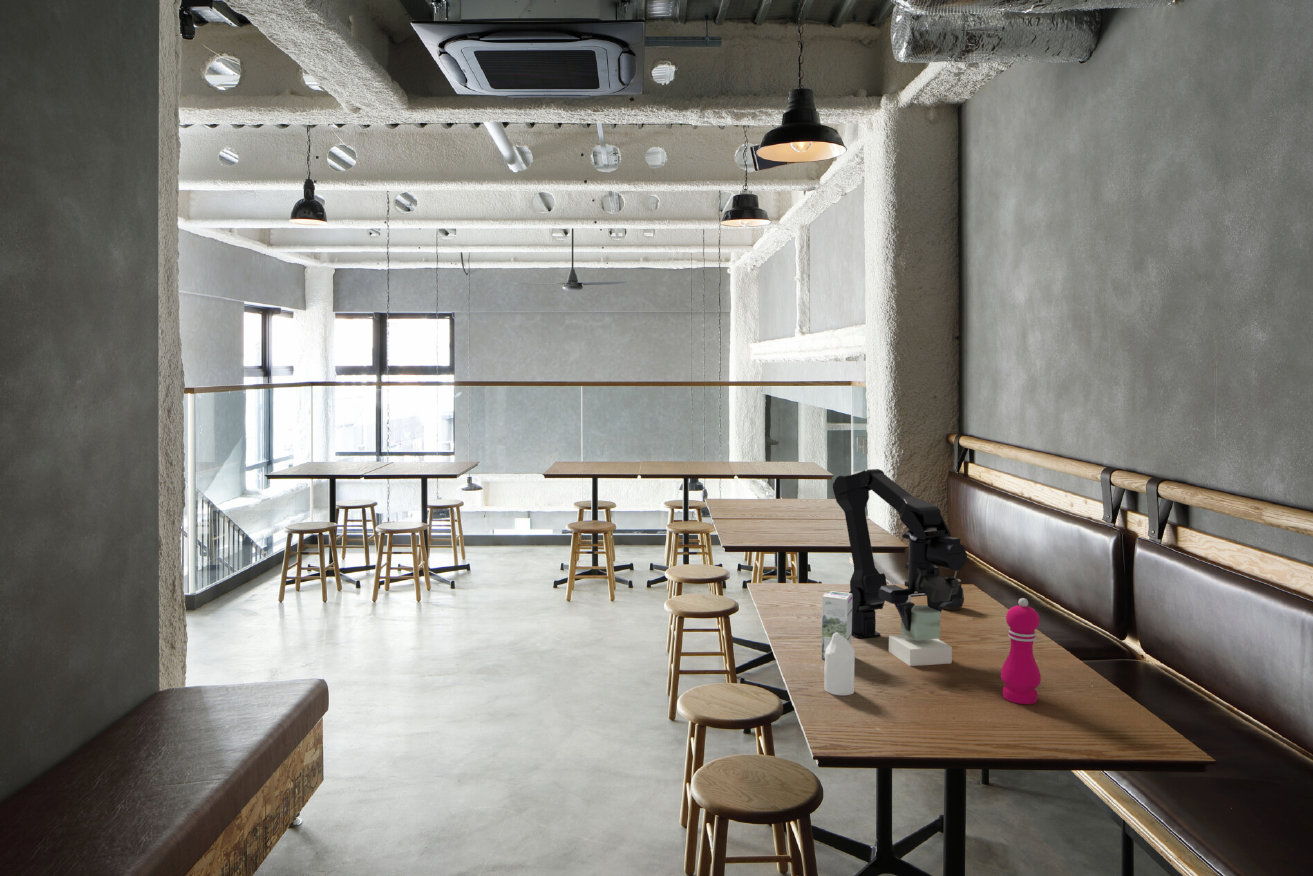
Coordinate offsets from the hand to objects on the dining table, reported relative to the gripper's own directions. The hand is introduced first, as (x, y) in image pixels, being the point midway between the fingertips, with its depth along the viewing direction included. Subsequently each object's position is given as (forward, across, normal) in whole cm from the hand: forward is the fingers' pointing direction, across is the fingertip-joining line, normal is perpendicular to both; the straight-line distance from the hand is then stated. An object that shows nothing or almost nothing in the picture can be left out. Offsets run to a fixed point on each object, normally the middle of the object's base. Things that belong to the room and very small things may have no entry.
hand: (920, 629), depth 188 cm
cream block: (+7, 0, 0) cm, 7 cm away
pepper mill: (+6, +4, -27) cm, 28 cm away
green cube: (+1, 0, 0) cm, 1 cm away
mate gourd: (+7, +33, +33) cm, 47 cm away
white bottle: (+6, -28, -13) cm, 32 cm away
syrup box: (+6, -18, +5) cm, 20 cm away
